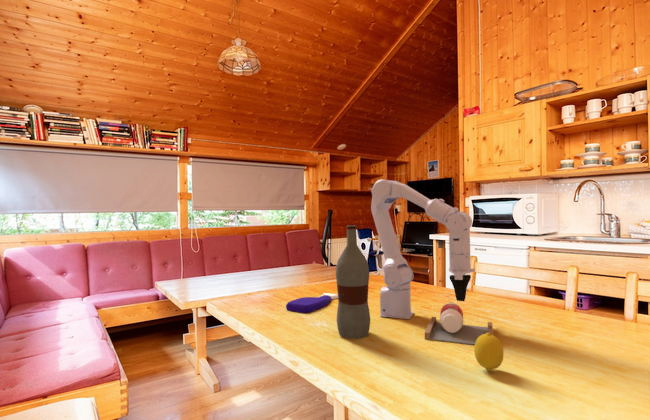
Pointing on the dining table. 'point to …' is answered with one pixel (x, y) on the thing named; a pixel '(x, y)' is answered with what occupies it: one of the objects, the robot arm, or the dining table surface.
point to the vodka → (352, 290)
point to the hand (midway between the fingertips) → (460, 300)
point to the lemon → (488, 351)
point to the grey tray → (456, 333)
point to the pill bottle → (451, 317)
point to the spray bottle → (310, 303)
